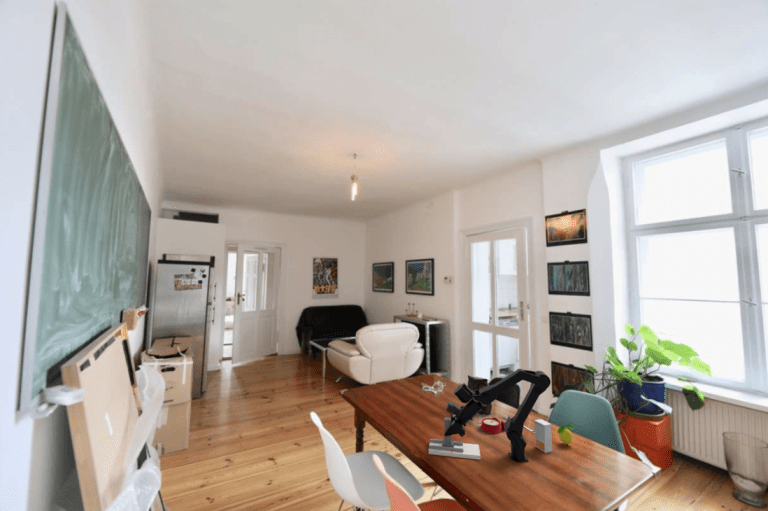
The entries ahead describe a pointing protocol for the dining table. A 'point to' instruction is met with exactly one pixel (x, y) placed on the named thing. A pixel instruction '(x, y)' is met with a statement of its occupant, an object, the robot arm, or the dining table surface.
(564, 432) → the lemon
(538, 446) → the skincare box
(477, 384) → the owl
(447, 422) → the fader tab
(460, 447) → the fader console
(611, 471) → the dining table surface
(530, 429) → the fork
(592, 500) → the dining table surface
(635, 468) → the dining table surface
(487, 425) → the alarm clock
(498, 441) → the dining table surface
